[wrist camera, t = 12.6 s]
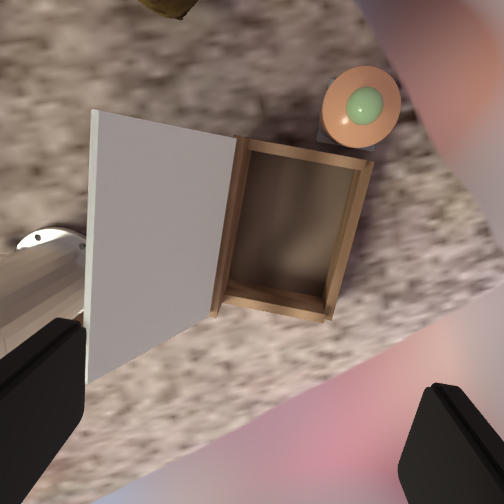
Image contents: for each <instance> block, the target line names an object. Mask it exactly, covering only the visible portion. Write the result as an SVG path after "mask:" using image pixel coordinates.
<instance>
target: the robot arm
mask: <svg viewBox="0 0 504 504" xmlns="http://www.w3.org/2000/svg"><path fill="white" fill-rule="evenodd" d="M85 264H86V236H84V235H82V234H80V233H78V232H76V231H74V230H71V229H67V228H61V227H49V228H44V229H40V230H37V231H35V232H33V233H30V234H29V235H27V236H26V237H25V238H23V239H22V240H21V242H20V243H19V244H18V245H17V247H16V249H15V251H14V253H12V254H9V255H7V254H0V504H21V503H22V502H23V500H24V499H25V497H26V496H27V495H28V493H29V492H30V490H31V489H32V488H33V486H34V485H35V483H36V482H37V481H38V479H39V478H40V477H41V475H42V474H43V472H44V471H45V470H46V468H47V467H48V465H49V464H50V463H51V461H52V460H53V459H54V457H55V456H56V454H57V453H58V452H59V450H60V449H61V447H62V446H63V445H64V443H65V442H66V440H67V439H68V438H69V436H70V435H71V434H72V432H73V431H74V429H75V428H76V427H77V425H78V424H79V422H80V420H81V418H82V416H83V412H84V401H85V368H86V334H87V333H86V328H85V327H81V323H80V322H79V321H77V320H72V319H73V318H75V317H76V316H77V315H78V314H80V313H81V312H82V311H83V310H84V292H85ZM398 476H399V480H400V483H401V485H402V488H403V491H404V493H405V496H406V498H407V501H408V503H409V504H504V442H503V440H502V439H501V438H500V436H499V435H498V434H497V433H496V432H495V430H494V429H493V428H492V427H491V425H490V424H489V423H488V422H487V420H486V419H485V418H484V417H483V415H482V414H481V413H480V412H479V410H478V409H477V408H476V407H475V405H474V404H473V403H472V402H471V401H470V399H469V398H468V397H467V396H466V394H465V393H464V392H463V391H462V389H460V388H459V387H458V386H453V385H447V384H442V383H434V384H432V385H431V387H427V388H426V389H425V390H424V392H423V395H422V398H421V401H420V404H419V407H418V409H417V412H416V415H415V418H414V421H413V424H412V427H411V429H410V432H409V435H408V438H407V441H406V443H405V446H404V449H403V452H402V455H401V458H400V461H399V464H398Z"/></svg>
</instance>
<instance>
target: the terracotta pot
mask: <svg viewBox="0 0 504 504" xmlns="http://www.w3.org/2000/svg"><path fill="white" fill-rule="evenodd" d="M400 110H401V96H400V92H399V88H398V86H397V84H396V82H395V81H394V79H393V78H392V77H391V76H390V75H389V74H388V73H387V72H385V71H383V70H382V69H379V68H377V67H373V66H358V67H354V68H351V69H349V70H347V71H345V72H344V73H342V74H341V75H340V76H339V77H337V78H336V79H335V81H334V82H333V83H332V84H331V86H330V87H329V89H328V90H327V92H326V94H325V97H324V100H323V104H322V107H321V111H320V125H321V128H322V130H323V132H324V134H325V135H326V136H327V137H328V138H329V139H330V140H332V141H333V142H336V143H339V144H341V145H344V146H347V147H352V148H362V147H367V146H371V145H373V144H376V143H377V142H379V141H381V140H382V139H383V138H385V137H386V136H387V135H388V134H389V133H390V132H391V130H392V129H393V127H394V126H395V124H396V122H397V120H398V117H399V114H400Z"/></svg>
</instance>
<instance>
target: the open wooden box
mask: <svg viewBox="0 0 504 504" xmlns="http://www.w3.org/2000/svg"><path fill="white" fill-rule="evenodd" d="M233 138H236V139H237V140H236V147H235V153H234V159H233V166H232V172H231V179H230V185H229V192H228V198H227V205H226V211H225V217H224V224H223V230H222V237H221V243H220V250H219V256H218V263H217V269H216V276H215V282H214V288H213V295H212V301H211V308H210V314H209V316H210V317H215V318H216V317H217V315H218V312H219V310H220V307H221V305H222V303H226V304H231V305H236V306H241V307H246V308H251V309H256V310H261V311H266V312H271V313H276V314H281V315H286V316H291V317H296V318H301V319H306V320H311V321H316V322H321V323H324V319H327V320H332V317H333V313H334V310H335V306H336V302H337V298H338V295H339V291H340V287H341V284H342V280H343V276H344V273H345V269H346V265H347V262H348V258H349V254H350V251H351V247H352V243H353V240H354V236H355V232H356V228H357V225H358V221H359V217H360V214H361V210H362V206H363V203H364V199H365V195H366V192H367V188H368V184H369V181H370V177H371V173H372V170H373V166H374V162H373V161H368V160H364V159H358V158H353V157H347V156H342V155H336V154H331V153H325V152H320V151H315V150H309V149H304V148H298V147H293V146H287V145H282V144H276V143H271V142H266V141H260V140H255V139H249V138H247V137H242V136H237V135H234V136H233ZM83 319H84V310H83V311H82V312H81V313H80V314H78V315H77V316H76V317H75V318H73V319H72V320H77V321H79V322H80V323H81V327H83Z"/></svg>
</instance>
